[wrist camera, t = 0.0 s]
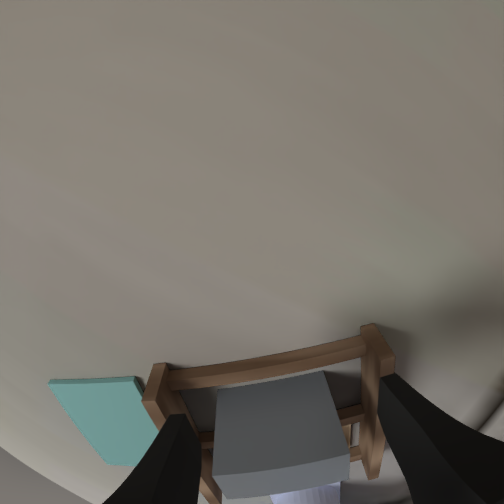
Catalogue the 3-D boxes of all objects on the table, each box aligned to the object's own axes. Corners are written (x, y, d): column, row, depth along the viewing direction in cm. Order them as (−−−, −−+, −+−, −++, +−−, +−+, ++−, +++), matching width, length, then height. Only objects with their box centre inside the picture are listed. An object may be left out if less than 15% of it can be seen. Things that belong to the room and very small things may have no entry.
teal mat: (185, 461, 26) (184, 466, 25) (108, 460, 26) (107, 464, 26) (134, 376, 22) (132, 381, 21) (50, 379, 22) (47, 383, 22)
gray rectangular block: (325, 400, 23) (348, 479, 16) (228, 417, 24) (227, 499, 16) (322, 370, 22) (350, 453, 15) (217, 389, 23) (211, 476, 15)
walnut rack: (367, 447, 26) (378, 477, 22) (213, 475, 27) (211, 505, 23) (373, 323, 21) (395, 356, 17) (153, 364, 22) (141, 401, 18)
